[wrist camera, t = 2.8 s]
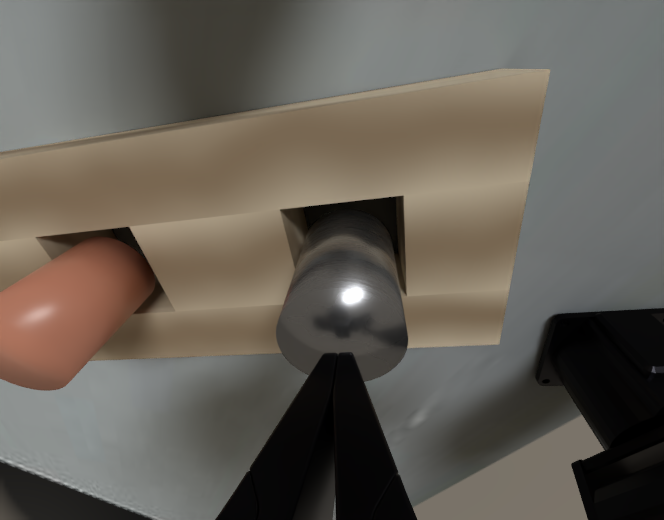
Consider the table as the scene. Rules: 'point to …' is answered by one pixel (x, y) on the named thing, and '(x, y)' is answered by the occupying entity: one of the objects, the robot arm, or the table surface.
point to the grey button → (345, 297)
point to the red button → (69, 311)
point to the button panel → (291, 207)
